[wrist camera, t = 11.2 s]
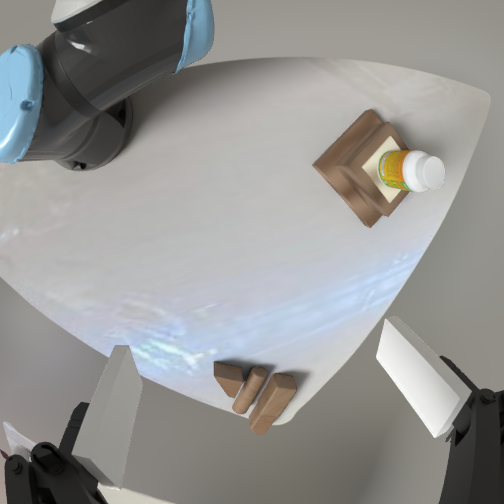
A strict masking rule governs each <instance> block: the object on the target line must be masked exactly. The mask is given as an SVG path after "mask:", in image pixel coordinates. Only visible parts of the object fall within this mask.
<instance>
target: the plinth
mask: <svg viewBox="0 0 504 504" xmlns="http://www.w3.org/2000/svg"><path fill="white" fill-rule="evenodd" d="M396 150H409V149H408V148H407V146H406V145H405V143H404V142H403V140H402V139H401V138H400V136H399V135H398V133H397V132H396V131H395V129H394V128H393V127H392V125H391V124H390V123H389V122H387V123H382V122H381V121H380V119H379V118H378V117H377V116H376V114H375V113H374V112H373V111H372V110H371V109H370V110H366V111H365V112H364V113H363V114H362V115H361V116H360V117H359V118H358V119H357V120H356V121H355V122H354V123H353V124H352V125H351V126H350V127H349V128H348V129H347V130H346V131H345V132H344V133H343V134H342V135H341V136H340V137H339V138H338V139H337V140H336V141H335V142H334V143H333V144H332V145H331V146H330V147H329V148H328V149H327V150H326V151H325V152H324V153H323V154H322V155H321V156H320V157H319V158H318V159H317V160H316V162H315V163H314V164H313V165H312V166H313V167H314V168H315V169H316V170H317V171H318V172H319V173H320V174H321V175H322V176H323V177H324V179H325V180H326V181H327V182H328V183H329V184H330V185H331V186H332V187H333V188H334V190H335V191H336V192H337V193H338V194H339V195H340V196H341V198H342V199H343V200H344V201H345V202H346V203H347V204H348V206H349V207H350V208H351V209H352V210H353V212H354V213H355V214H356V215H357V216H358V218H359V219H360V220H361V221H362V222H363V224H364V225H365V226H367V227H369V228H371V227H372V226H373V225H374V224H375V223H376V222H377V220H378V219H379V218H380V217H381V216H382V215H384V216H387V217H389V215H390V214H391V213H392V212H393V211H394V210H395V208H396V207H397V206H398V205H399V204H400V202H401V201H402V200H403V199H404V198H405V196H406V195H407V194H408V193H409V191H406V190H401V189H396V188H391V187H388V186H386V185H384V184H383V183H382V182H381V180H380V179H379V176H378V173H377V163H378V160H379V158H380V156H381V155H382V154H383V153H385V152H387V151H396Z"/></svg>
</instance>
